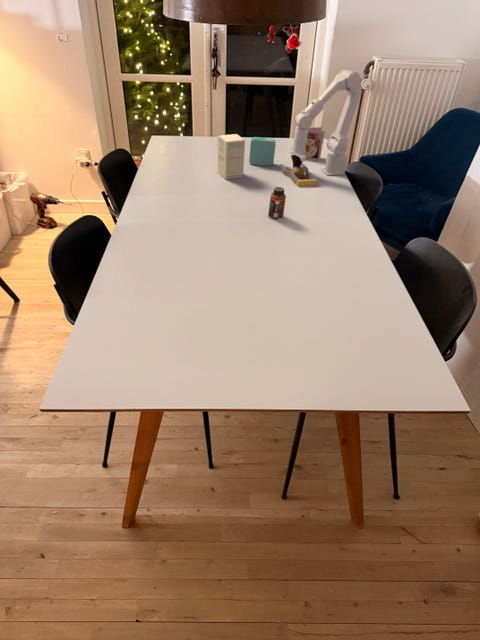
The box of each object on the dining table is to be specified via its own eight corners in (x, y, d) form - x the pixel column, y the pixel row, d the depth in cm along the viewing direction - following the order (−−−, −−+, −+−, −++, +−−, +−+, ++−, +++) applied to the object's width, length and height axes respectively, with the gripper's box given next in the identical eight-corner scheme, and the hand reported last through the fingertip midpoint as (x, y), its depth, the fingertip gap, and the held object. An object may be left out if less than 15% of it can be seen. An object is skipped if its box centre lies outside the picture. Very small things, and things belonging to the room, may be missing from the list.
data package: (273, 163, 218) (275, 138, 211) (273, 166, 215) (275, 141, 207) (249, 161, 219) (251, 136, 211) (248, 164, 215) (250, 139, 208)
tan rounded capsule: (301, 174, 209) (302, 166, 206) (305, 178, 205) (306, 170, 202) (291, 175, 208) (292, 166, 205) (294, 179, 204) (295, 170, 201)
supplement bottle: (278, 221, 169) (282, 193, 162) (265, 216, 171) (268, 189, 164) (285, 215, 173) (289, 188, 166) (272, 211, 175) (275, 184, 168)
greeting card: (297, 159, 226) (301, 128, 216) (299, 154, 231) (303, 124, 222) (319, 162, 224) (324, 131, 215) (320, 157, 230) (325, 127, 220)
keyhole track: (279, 169, 212) (280, 164, 211) (302, 168, 215) (303, 163, 214) (294, 186, 197) (294, 181, 195) (318, 185, 200) (319, 180, 198)
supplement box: (235, 170, 208) (237, 133, 197) (243, 177, 201) (246, 139, 191) (216, 172, 204) (217, 135, 193) (224, 179, 198) (226, 141, 187)
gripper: (286, 137, 204) (283, 165, 213) (297, 147, 194) (292, 177, 202) (300, 136, 206) (296, 165, 215) (312, 147, 195) (307, 176, 204)
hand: (295, 171), depth 208 cm, fingers closed
